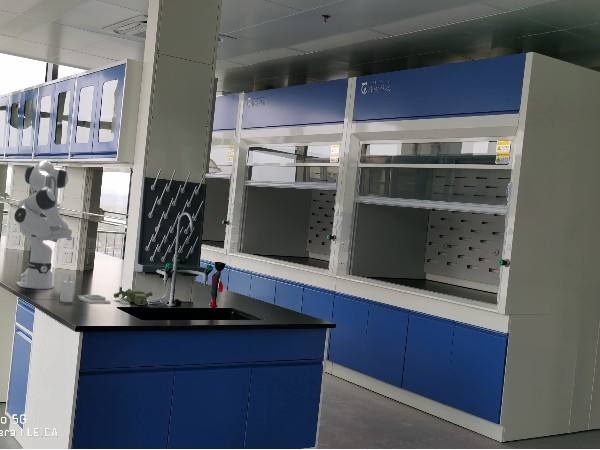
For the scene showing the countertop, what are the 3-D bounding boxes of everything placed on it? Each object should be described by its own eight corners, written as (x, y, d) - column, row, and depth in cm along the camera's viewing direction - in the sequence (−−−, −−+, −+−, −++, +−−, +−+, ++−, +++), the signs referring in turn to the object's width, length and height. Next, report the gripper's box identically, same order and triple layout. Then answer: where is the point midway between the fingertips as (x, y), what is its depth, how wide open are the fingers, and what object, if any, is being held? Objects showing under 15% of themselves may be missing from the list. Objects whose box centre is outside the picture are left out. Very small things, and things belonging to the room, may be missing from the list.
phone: (76, 296, 366) (76, 295, 366) (87, 296, 371) (87, 294, 371) (92, 301, 357) (92, 299, 357) (103, 300, 363) (103, 299, 363)
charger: (59, 300, 347) (62, 280, 347) (68, 300, 350) (70, 280, 350) (63, 302, 344) (65, 281, 344) (72, 302, 347) (74, 281, 347)
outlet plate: (78, 299, 359) (79, 293, 359) (97, 299, 366) (98, 294, 366) (90, 303, 349) (91, 298, 349) (110, 303, 356) (110, 298, 356)
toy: (107, 296, 380) (121, 308, 354) (109, 282, 380) (123, 294, 354) (144, 297, 391) (160, 310, 365) (145, 284, 390) (162, 296, 364)
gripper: (61, 220, 331) (80, 232, 342) (30, 224, 339) (50, 236, 350) (58, 232, 328) (77, 243, 339) (26, 236, 336) (47, 247, 348)
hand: (63, 239), depth 345 cm, fingers open, 8 cm apart
